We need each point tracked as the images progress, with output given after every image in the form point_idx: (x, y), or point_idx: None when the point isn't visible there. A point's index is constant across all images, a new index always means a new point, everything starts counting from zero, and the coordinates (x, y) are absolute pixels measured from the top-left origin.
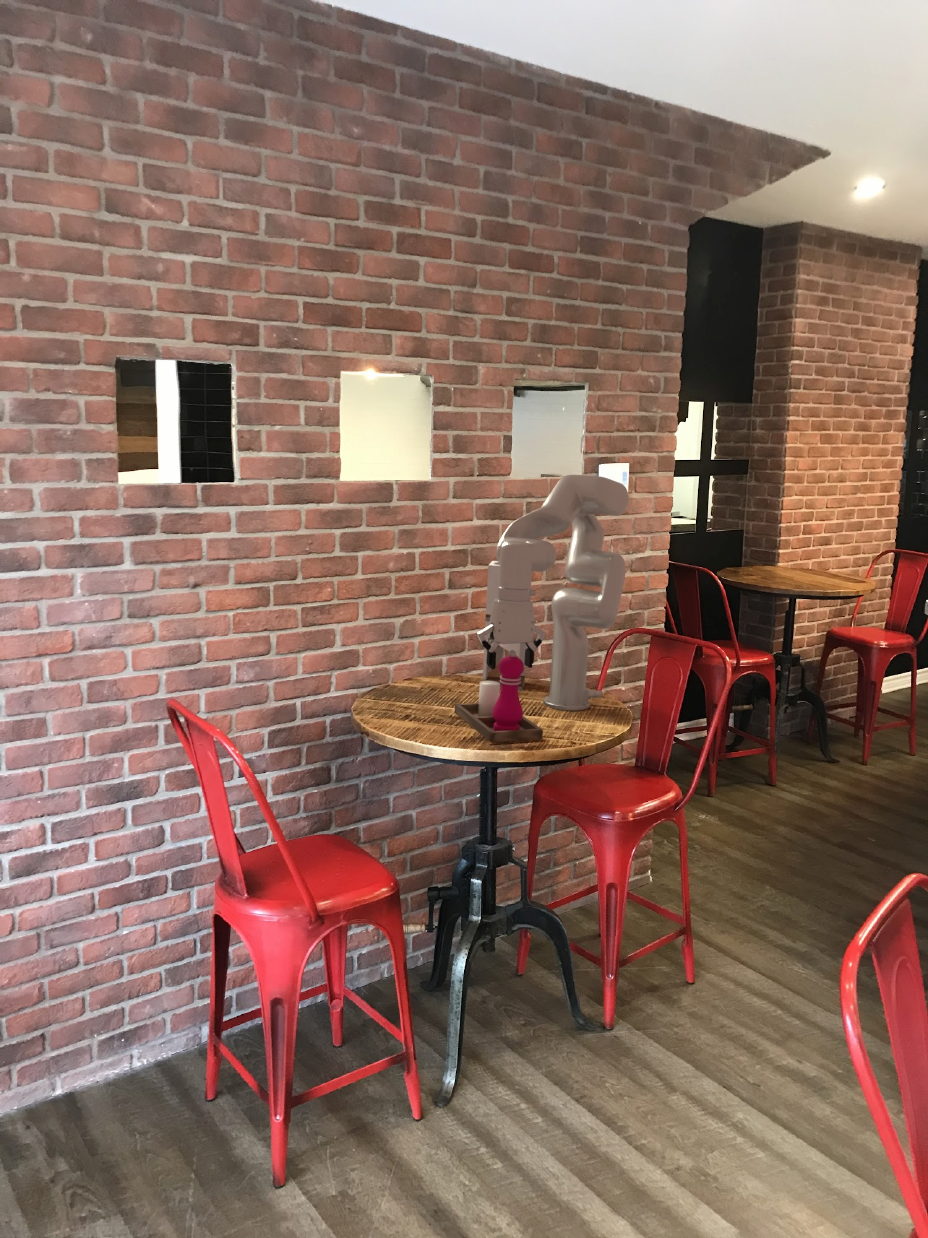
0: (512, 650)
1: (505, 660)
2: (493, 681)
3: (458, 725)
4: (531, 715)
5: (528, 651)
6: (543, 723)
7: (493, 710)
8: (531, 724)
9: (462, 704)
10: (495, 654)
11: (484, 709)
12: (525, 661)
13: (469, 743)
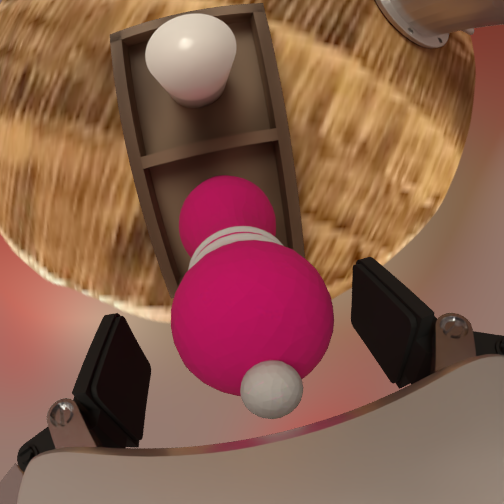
0: (274, 418)
1: (209, 385)
2: (214, 22)
3: (112, 127)
4: (330, 43)
5: (399, 366)
6: (343, 108)
7: (179, 231)
8: (291, 226)
9: (129, 34)
10: (138, 437)
11: (176, 99)
12: (364, 289)
13: (129, 270)
